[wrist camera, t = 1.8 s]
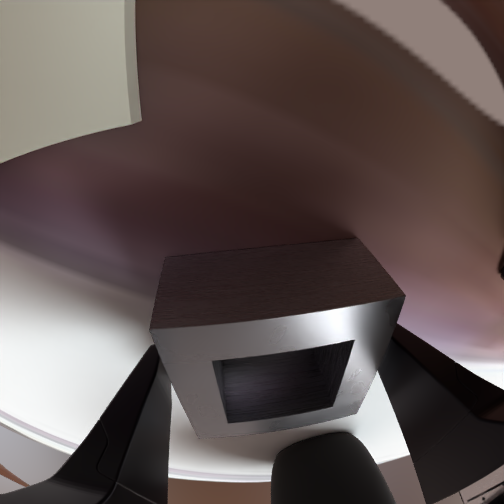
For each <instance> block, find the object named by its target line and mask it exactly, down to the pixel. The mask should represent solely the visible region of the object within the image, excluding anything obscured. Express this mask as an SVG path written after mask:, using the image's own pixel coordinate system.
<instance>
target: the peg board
mask: <svg viewBox="0 0 504 504" xmlns="http://www.w3.org/2000/svg"><path fill="white" fill-rule="evenodd" d="M140 121H142V117H141V107H140V97H139V85H138V72H137V55H136V28H135V0H0V163H3V162H5V161H8V160H10V159H13V158H15V157H18V156H21V155H23V154H26V153H29V152H32V151H34V150H37V149H40V148H43V147H46V146H49V145H53V144H56V143H59V142H62V141H66V140H69V139H73V138H76V137H80V136H84V135H88V134H92V133H96V132H100V131H104V130H108V129H113V128H117V127H122V126H127V125H132V124H134V123H137V122H140Z"/></svg>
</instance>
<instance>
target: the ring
mask: <svg viewBox="0 0 504 504" xmlns="http://www.w3.org/2000/svg"><path fill="white" fill-rule="evenodd" d="M405 297H406V295H405V294H404V293H403V291H402V290H401V289H400V288H399V286H398V285H397V284H396V283H395V281H394V280H393V279H392V278H391V276H390V275H389V274H388V273H387V271H386V270H385V269H384V268H383V267H382V265H381V264H380V263H379V262H378V261H377V259H376V258H375V257H374V256H373V255H372V254H371V252H370V251H369V250H368V249H367V248H366V247H365V246H364V244H363V243H362V242H361V241H360V240H359V239H358V238H354V239H344V240H333V241H323V242H313V243H303V244H293V245H282V246H272V247H262V248H252V249H242V250H232V251H222V252H213V253H203V254H193V255H183V256H173V257H165V260H164V264H163V268H162V273H161V277H160V281H159V286H158V290H157V295H156V299H155V304H154V309H153V313H152V318H151V323H150V329H149V330H150V333H151V335H152V338H153V340H154V343H155V345H156V348H157V350H158V353H159V355H160V358H161V360H162V362H163V365H164V367H165V369H166V372H167V374H168V376H169V379H170V381H171V383H172V385H173V387H174V390H175V392H176V394H177V396H178V398H179V400H180V402H181V404H182V406H183V408H184V410H185V413H186V415H187V417H188V418H189V420H190V422H191V424H192V426H193V428H194V430H195V432H196V434H197V436H198V438H199V439H201V438H219V437H232V436H242V435H251V434H259V433H267V432H274V431H280V430H286V429H292V428H297V427H303V426H308V425H312V424H317V423H322V422H326V421H330V420H334V419H338V418H342V417H346V416H350V415H353V414H356V413H357V412H358V410H359V408H360V406H361V404H362V402H363V400H364V398H365V396H366V394H367V392H368V390H369V387H370V385H371V383H372V381H373V379H374V377H375V375H376V372H377V370H378V368H379V366H380V363H381V361H382V359H383V356H384V354H385V351H386V349H387V346H388V344H389V341H390V339H391V336H392V334H393V331H394V328H395V326H396V323H397V320H398V318H399V315H400V312H401V309H402V306H403V303H404V300H405Z"/></svg>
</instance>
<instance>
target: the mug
mask: <svg viewBox="0 0 504 504" xmlns="http://www.w3.org/2000/svg"><path fill="white" fill-rule="evenodd" d="M271 504H396V502H395V500H394V498H393V495H392V493H391V491H390V489H389V487H388V485H387V483H386V481H385V479H384V477H383V475H382V473H381V471H380V470H379V468H378V466H377V464H376V463H375V461H374V459H373V458H372V456H371V454H370V453H369V451H368V450H367V449H366V447H365V446H364V445H363V443H362V442H361V441H360V440H359V439H358V438H356V437H355V436H354V435H352V434H349V433H333V434H327V435H322V436H318V437H314V438H311V439H307V440H304V441H301V442H299V443H296V444H294V445H292V446H290V447H288V448H286V449H284V450H283V451H281V452H280V453H279V454H278V455H277V457H276V459H275V461H274V464H273V468H272V476H271Z"/></svg>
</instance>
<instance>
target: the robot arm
mask: <svg viewBox="0 0 504 504" xmlns="http://www.w3.org/2000/svg"><path fill="white" fill-rule="evenodd" d="M501 278H502V279H503V280H504V267H503V270H502V272H501ZM378 373H379V375H380V378H381V380H382V383H383V385H384V387H385V390H386V392H387V395H388V397H389V400H390V402H391V405H392V407H393V410H394V412H395V415H396V417H397V420H398V423H399V425H400V428H401V430H402V433H403V436H404V439H405V441H406V444H407V447H408V450H409V452H410V455H411V458H412V461H413V463H414V467H415V470H416V473H417V476H418V479H419V482H420V485H421V489H422V492H423V495H424V498H425V502H426V504H434V503H436V502H438V501H440V500H443V499H444V498H447V497H449V496H451V495H453V494H455V493H457V492H459V493H460V496H461V499H462V501H463V504H504V390H503V389H501V388H499V387H497V386H495V385H494V384H492V383H490V382H488V381H486V380H484V379H483V378H481V377H479V376H477V375H476V374H474V373H472V372H471V371H469V370H467V369H466V368H464V367H463V366H461V365H460V364H458V363H457V362H455V361H454V360H452V359H451V358H449V357H448V356H446V355H445V354H443V353H442V352H440V351H439V350H437V349H436V348H434V347H433V346H431V345H430V344H428V343H427V342H425V341H423V340H422V339H420V338H419V337H417V336H416V335H414V334H413V333H411V332H410V331H408V330H407V329H405V328H404V327H402V326H401V325H399V324H397V323H396V326H395V328H394V331H393V334H392V336H391V339H390V341H389V344H388V346H387V349H386V351H385V354H384V356H383V359H382V361H381V363H380V366H379V368H378ZM171 409H172V397H171V381H170V379H169V376H168V374H167V372H166V369H165V367H164V365H163V362H162V360H161V358H160V355H159V353H158V350H157V348H156V345H155V344H153V345H151V346H150V347H149V348H148V350H147V351H146V353H145V354H144V355H143V357H142V358H141V360H140V361H139V362H138V364H137V365H136V367H135V368H134V369H133V371H132V372H131V374H130V375H129V377H128V378H127V379H126V381H125V382H124V384H123V385H122V387H121V388H120V389H119V391H118V392H117V394H116V395H115V397H114V398H113V399H112V401H111V402H110V404H109V405H108V407H107V408H106V410H105V411H104V413H103V414H102V415H101V417H100V420H98V421H97V423H96V424H95V426H94V427H93V428H92V430H91V431H90V433H89V434H88V435H87V437H86V438H85V439H84V441H83V442H82V443H81V444H80V446H79V447H78V448H77V449H76V450H75V452H74V453H73V454H72V455H71V456H70V457H69V459H68V460H67V461H66V462H65V463H64V464H63V465H62V467H61V468H60V469H59V470H58V471H57V472H56V473H55V474H54V475H53V476H52V477H50V478H49V479H47V480H45V481H42V482H39V483H37V484H34V485H31V486H28V487H25V488H22V489H19V490H15V491H12V492H9V493H5V494H0V504H167V503H168V501H167V500H168V498H167V497H168V461H169V440H170V424H171Z"/></svg>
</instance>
